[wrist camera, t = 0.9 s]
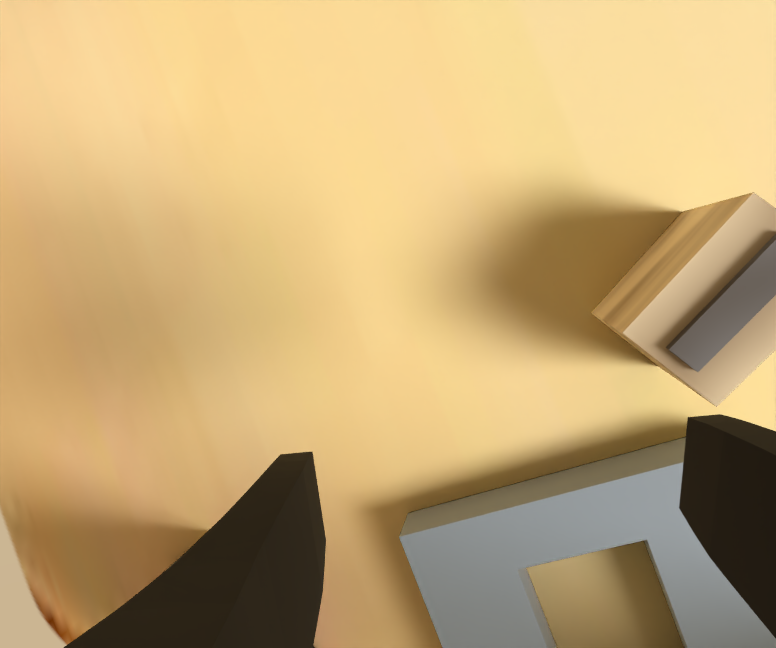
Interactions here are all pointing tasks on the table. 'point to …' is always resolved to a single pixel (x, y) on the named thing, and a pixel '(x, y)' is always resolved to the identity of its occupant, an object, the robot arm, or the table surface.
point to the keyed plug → (703, 296)
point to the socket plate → (569, 553)
